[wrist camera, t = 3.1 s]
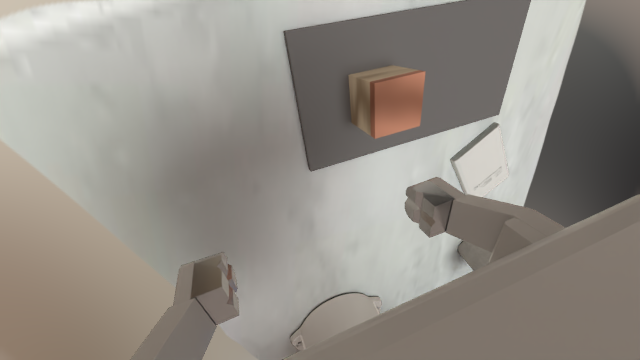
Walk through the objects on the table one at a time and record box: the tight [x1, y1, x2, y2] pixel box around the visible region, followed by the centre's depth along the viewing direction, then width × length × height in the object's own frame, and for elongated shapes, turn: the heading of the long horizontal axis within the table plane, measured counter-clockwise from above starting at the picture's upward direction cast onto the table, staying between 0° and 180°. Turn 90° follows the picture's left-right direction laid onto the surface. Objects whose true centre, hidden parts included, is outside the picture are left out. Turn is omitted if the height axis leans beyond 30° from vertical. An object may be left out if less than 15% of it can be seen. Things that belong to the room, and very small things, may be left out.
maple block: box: [348, 65, 426, 139], centre depth 24 cm, size 5×5×5 cm
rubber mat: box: [284, 0, 531, 171], centre depth 28 cm, size 14×28×1 cm, turn 99°
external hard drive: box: [450, 122, 509, 197], centre depth 39 cm, size 2×8×12 cm
